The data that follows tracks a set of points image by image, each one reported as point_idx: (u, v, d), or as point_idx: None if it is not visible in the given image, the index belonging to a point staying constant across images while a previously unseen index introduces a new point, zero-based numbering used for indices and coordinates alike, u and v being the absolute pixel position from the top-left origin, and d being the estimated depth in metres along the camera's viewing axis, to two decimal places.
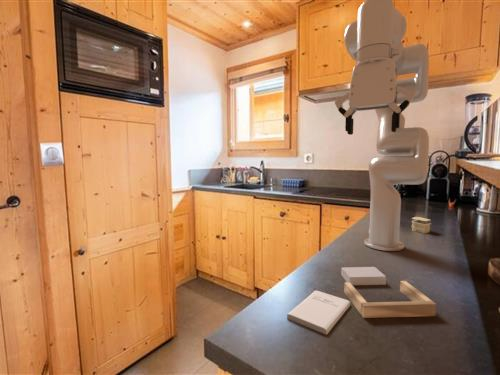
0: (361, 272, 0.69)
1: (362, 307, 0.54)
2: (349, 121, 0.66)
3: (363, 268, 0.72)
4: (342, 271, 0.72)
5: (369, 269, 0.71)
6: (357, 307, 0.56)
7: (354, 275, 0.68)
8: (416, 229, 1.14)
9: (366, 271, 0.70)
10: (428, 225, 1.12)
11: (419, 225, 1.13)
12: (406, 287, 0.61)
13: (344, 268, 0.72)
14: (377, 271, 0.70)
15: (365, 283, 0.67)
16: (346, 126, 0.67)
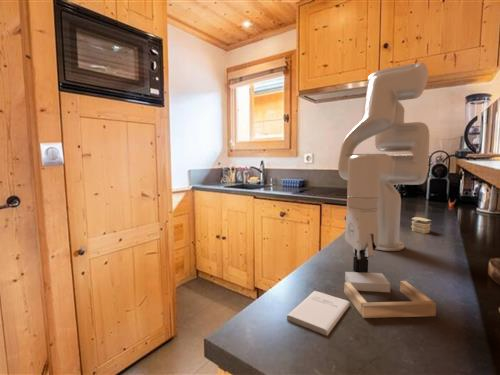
0: (364, 278, 0.66)
1: (362, 307, 0.54)
2: None
3: (368, 274, 0.69)
4: (345, 276, 0.69)
5: (375, 276, 0.67)
6: (357, 307, 0.56)
7: (356, 280, 0.65)
8: (416, 229, 1.13)
9: (370, 277, 0.67)
10: (428, 225, 1.11)
11: (419, 225, 1.12)
12: (406, 287, 0.61)
13: (348, 273, 0.69)
14: (383, 278, 0.66)
15: (367, 290, 0.64)
16: None
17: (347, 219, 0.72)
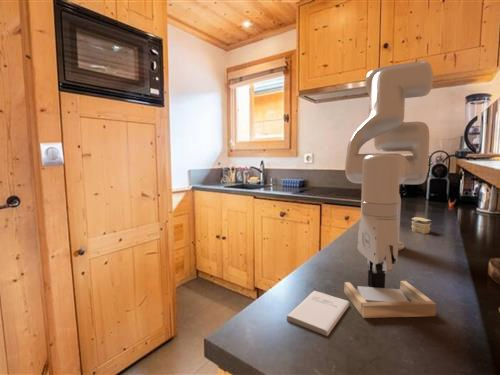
0: (379, 295, 0.58)
1: (362, 307, 0.54)
2: None
3: (384, 290, 0.60)
4: (358, 290, 0.61)
5: (392, 292, 0.59)
6: (357, 307, 0.56)
7: (369, 297, 0.57)
8: (416, 229, 1.13)
9: (386, 294, 0.58)
10: (428, 225, 1.11)
11: (419, 226, 1.12)
12: (406, 287, 0.61)
13: (360, 287, 0.61)
14: (401, 296, 0.57)
15: None
16: None
17: (361, 227, 0.64)
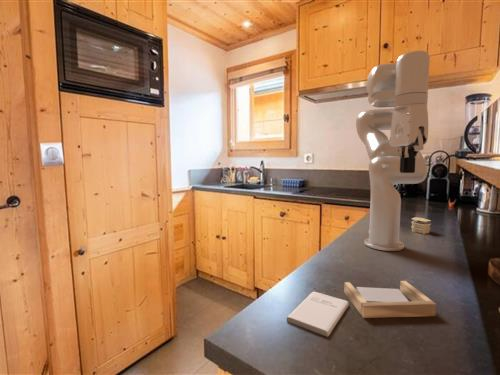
0: (379, 295, 0.58)
1: (362, 307, 0.54)
2: None
3: (383, 290, 0.60)
4: None
5: (391, 292, 0.59)
6: (357, 307, 0.56)
7: (370, 298, 0.56)
8: (416, 230, 1.13)
9: (386, 294, 0.58)
10: (428, 226, 1.11)
11: (419, 226, 1.12)
12: (406, 287, 0.61)
13: (359, 288, 0.61)
14: (400, 295, 0.58)
15: None
16: None
17: (393, 123, 0.75)
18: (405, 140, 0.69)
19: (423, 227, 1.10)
